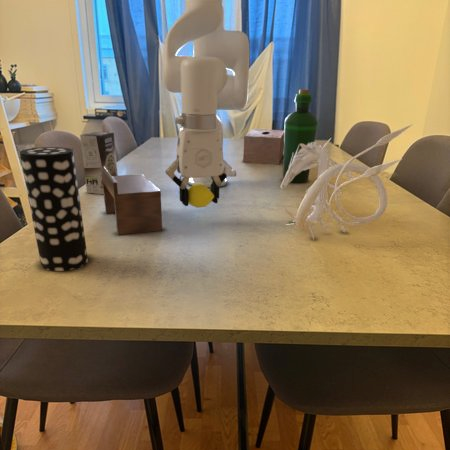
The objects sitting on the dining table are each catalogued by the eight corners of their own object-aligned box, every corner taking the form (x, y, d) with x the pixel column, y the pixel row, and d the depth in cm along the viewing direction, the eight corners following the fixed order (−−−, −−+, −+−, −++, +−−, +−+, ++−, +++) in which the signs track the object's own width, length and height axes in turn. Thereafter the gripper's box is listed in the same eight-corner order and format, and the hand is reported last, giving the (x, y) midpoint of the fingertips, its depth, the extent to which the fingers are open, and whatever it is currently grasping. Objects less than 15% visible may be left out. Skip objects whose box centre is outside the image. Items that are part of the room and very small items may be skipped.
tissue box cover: (251, 152, 198) (253, 128, 193) (283, 153, 195) (285, 130, 191) (243, 162, 175) (244, 136, 171) (278, 164, 173) (280, 137, 168)
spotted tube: (48, 254, 84) (28, 146, 75) (91, 253, 85) (77, 147, 76) (35, 271, 77) (12, 155, 68) (83, 270, 78) (66, 155, 68)
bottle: (313, 179, 150) (323, 89, 137) (308, 185, 141) (319, 90, 128) (283, 176, 153) (290, 88, 140) (276, 182, 144) (283, 89, 131)
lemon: (183, 210, 101) (183, 187, 98) (185, 203, 105) (185, 181, 103) (213, 211, 101) (213, 187, 98) (214, 204, 105) (214, 182, 103)
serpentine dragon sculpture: (412, 272, 77) (463, 117, 70) (299, 251, 75) (340, 88, 67) (334, 233, 120) (361, 134, 112) (261, 219, 117) (283, 117, 110)
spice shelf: (144, 209, 113) (141, 164, 108) (162, 230, 98) (160, 179, 93) (105, 212, 110) (100, 166, 104) (118, 235, 95) (113, 182, 90)
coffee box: (106, 194, 125) (100, 135, 117) (86, 193, 126) (78, 134, 118) (119, 187, 133) (114, 131, 125) (100, 186, 134) (94, 130, 126)
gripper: (165, 126, 88) (168, 211, 97) (242, 123, 94) (239, 204, 103) (155, 121, 94) (160, 201, 103) (229, 119, 100) (227, 195, 109)
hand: (199, 202), depth 103 cm, fingers closed on lemon, 6 cm apart
